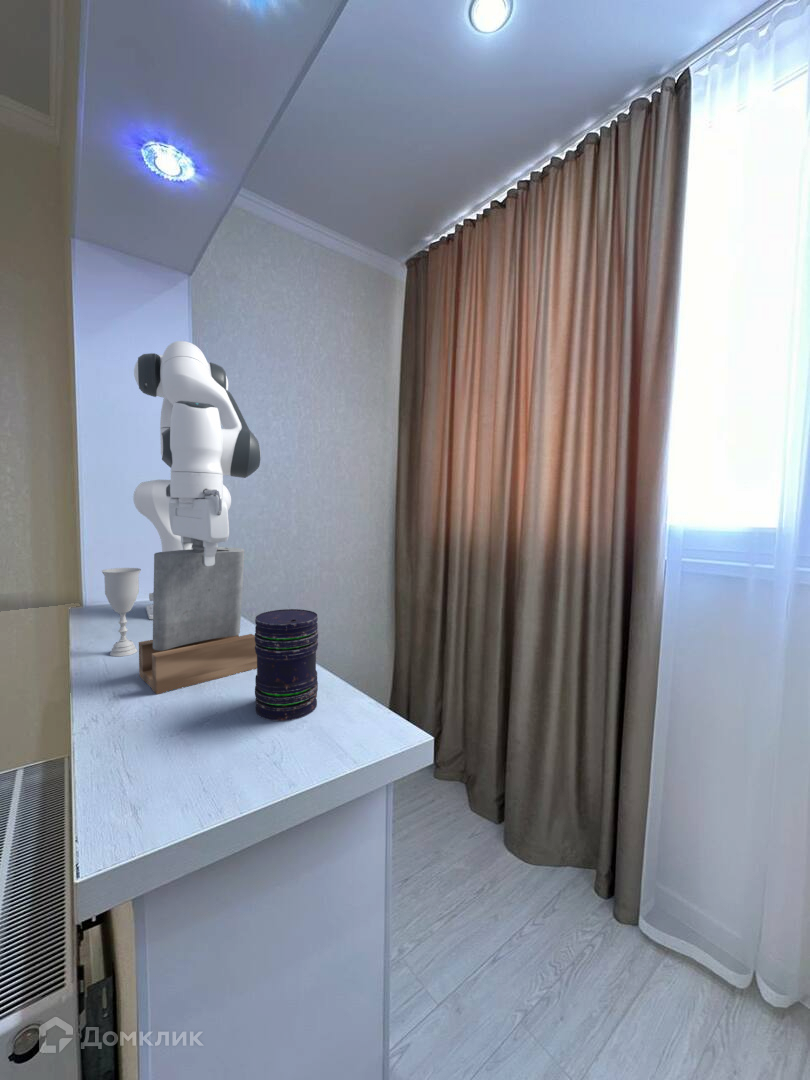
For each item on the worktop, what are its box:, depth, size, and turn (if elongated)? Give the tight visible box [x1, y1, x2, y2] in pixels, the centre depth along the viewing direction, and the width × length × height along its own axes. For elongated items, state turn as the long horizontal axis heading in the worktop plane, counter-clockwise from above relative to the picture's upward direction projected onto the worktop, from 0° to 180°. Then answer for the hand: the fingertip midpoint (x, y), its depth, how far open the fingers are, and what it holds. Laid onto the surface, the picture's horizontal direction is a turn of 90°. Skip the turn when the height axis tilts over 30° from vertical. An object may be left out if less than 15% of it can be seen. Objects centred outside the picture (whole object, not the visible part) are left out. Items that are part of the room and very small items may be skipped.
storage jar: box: [254, 608, 319, 722], centre depth 70 cm, size 10×10×15 cm
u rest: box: [138, 633, 257, 695], centre depth 84 cm, size 11×18×6 cm, turn 135°
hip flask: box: [152, 538, 245, 651], centre depth 82 cm, size 16×4×20 cm, turn 135°
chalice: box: [101, 567, 142, 657], centre depth 93 cm, size 7×7×18 cm
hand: (198, 562), depth 82 cm, fingers open, 8 cm apart
